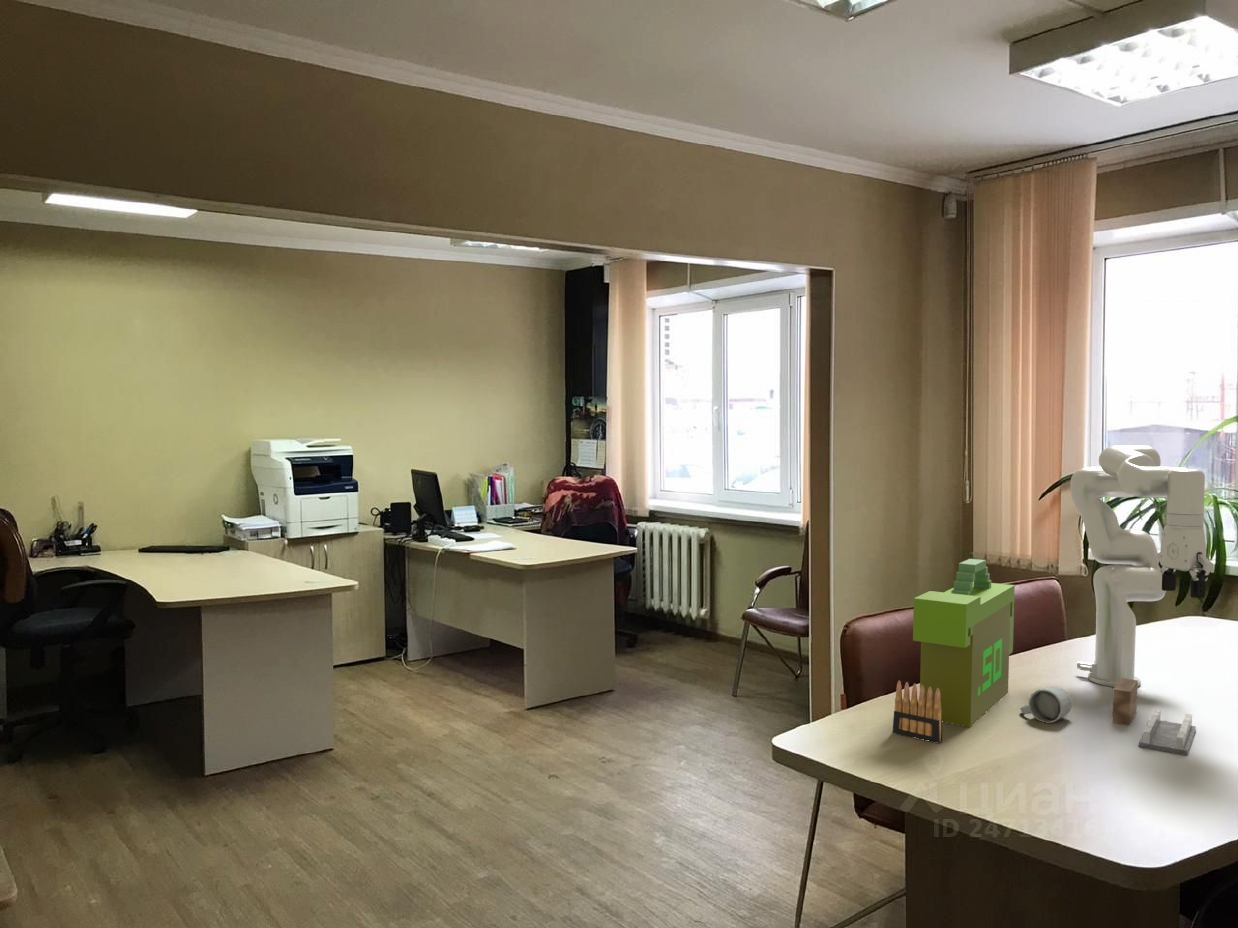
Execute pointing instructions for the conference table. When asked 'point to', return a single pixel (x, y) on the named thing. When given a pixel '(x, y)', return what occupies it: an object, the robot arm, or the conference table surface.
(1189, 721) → the floor track
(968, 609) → the ammo box
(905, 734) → the ammunition clip
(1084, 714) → the conference table surface
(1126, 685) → the door panel
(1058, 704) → the ceramic mug
